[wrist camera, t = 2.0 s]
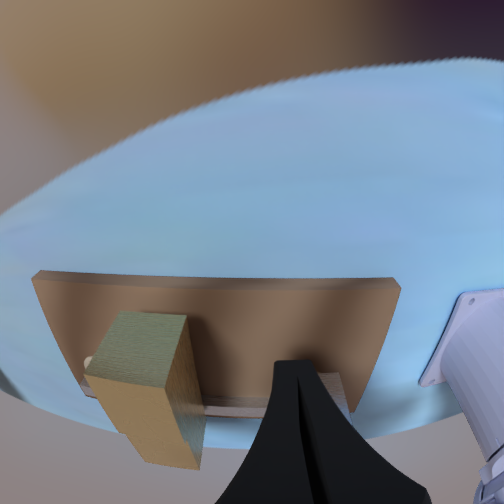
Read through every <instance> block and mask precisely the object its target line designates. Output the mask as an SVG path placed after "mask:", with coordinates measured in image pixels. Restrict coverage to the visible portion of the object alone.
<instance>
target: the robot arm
mask: <svg viewBox="0 0 504 504" xmlns="http://www.w3.org/2000/svg"><path fill="white" fill-rule="evenodd" d="M443 382H448V384H449V386H450V388H451V389H452V391H453V393H454V395H455V397H456V399H457V401H458V403H459V405H460V407H461V408H462V410H463V412H464V414H465V416H466V418H467V421H468V423H469V425H470V427H471V429H472V431H473V433H474V435H475V437H476V440H477V442H478V444H479V446H480V449H481V451H482V453H483V456H484V458H485V460H486V462H488V463H487V464H486V465H485V466H484V467H483V468H482V469H480V470H479V473H480V476H481V479H482V480H481V481H480V483H479V485H478V487H477V490H476V493H475V497H474V502H473V504H504V288H501V289H492V290H482V291H472V292H465V293H463V294H461V295H460V297H459V298H458V301H457V303H456V306H455V308H454V311H453V313H452V316H451V318H450V320H449V323H448V325H447V327H446V330H445V332H444V334H443V336H442V338H441V341H440V343H439V345H438V347H437V349H436V351H435V353H434V355H433V357H432V359H431V361H430V363H429V365H428V367H427V368H426V370H425V372H424V374H423V376H422V378H421V379H420V381H419V384H420V386H421V387H427V386H431V385H435V384H439V383H443ZM215 504H432V502H431V499H430V496H429V494H428V492H427V490H426V488H425V487H423V486H421V485H420V484H418V483H416V482H415V481H413V480H412V479H410V478H409V477H407V476H406V475H404V474H403V473H401V472H400V471H399V470H397V469H396V468H395V467H393V466H392V465H391V464H390V463H389V462H387V461H386V460H385V459H384V458H383V457H382V456H381V455H379V454H378V453H377V452H376V451H375V450H374V449H373V448H372V447H371V446H370V445H369V444H368V443H367V442H366V441H365V440H364V439H363V438H362V436H361V435H360V434H359V433H358V432H357V431H356V430H355V428H354V427H353V426H352V425H351V424H350V422H349V421H348V420H347V418H346V417H345V416H344V414H343V413H342V412H341V410H340V409H339V407H338V406H337V405H336V403H335V402H334V400H333V398H332V397H331V395H330V394H329V392H328V391H327V389H326V387H325V386H324V384H323V382H322V380H321V379H320V377H319V375H318V373H317V371H316V369H315V367H314V365H313V363H312V361H311V360H310V359H307V360H277V361H275V362H274V368H273V380H272V390H271V394H270V398H269V402H268V405H267V409H266V412H265V414H264V417H263V420H262V423H261V425H260V428H259V430H258V433H257V435H256V437H255V439H254V442H253V444H252V446H251V448H250V450H249V452H248V454H247V456H246V458H245V459H244V461H243V463H242V465H241V467H240V468H239V470H238V471H237V473H236V475H235V476H234V478H233V479H232V481H231V482H230V484H229V485H228V487H227V488H226V490H225V491H224V493H223V494H222V495H221V496H220V498H219V499H218V500H217V502H216V503H215Z"/></svg>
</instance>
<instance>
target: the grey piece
mask: <svg viewBox="0 0 504 504" xmlns="http://www.w3.org/2000/svg"><path fill="white" fill-rule="evenodd" d="M318 375H319V377H320V379H321V380H322V382H323V384H324V386H325V387H326V389H327V391H328V392H329V394H330V395H331V397H332V398H333V400H334V402H335V403H336V405H337V406H338V407H339V409H340V410H341V412H342V413H343V414H344V416H345V417H346V418H347V420H348V421H349V422H350V424H351V425H352V421H351V417H350V413H349V409H348V405H347V401H346V397H345V394H344V390H343V386H342V382H341V379H340V375H339V372H336V373H322V374H318ZM80 386H81V388H82V390H83V391H84V393H85V394H86V395H90V396H94V397H96V396H95V394H94V393H93V391H92V389H91V387H90V385H89V384H88V382H87V380H86V378H85V377H84V378H83V380H82V382H81V384H80ZM201 398H202V402H203V407H204V412H205V415H220V416H246V417H264V414H265V412H266V409H267V405H268V402H269V398H270V397H229V396H210V395H201ZM352 426H353V425H352Z"/></svg>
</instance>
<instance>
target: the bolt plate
mask: <svg viewBox="0 0 504 504" xmlns="http://www.w3.org/2000/svg"><path fill="white" fill-rule="evenodd" d="M31 280H32V283H33V286H34V289H35V292H36V294H37V297H38V300H39V302H40V305H41V307H42V310H43V312H44V315H45V317H46V320H47V322H48V324H49V327H50V329H51V331H52V333H53V335H54V338H55V340H56V342H57V344H58V346H59V348H60V350H61V352H62V354H63V356H64V358H65V360H66V362H67V364H68V366H69V368H70V369H71V371H72V373H73V375H74V377H75V378H76V380H77V382H78V384H79V385H80V384H81V382H82V380H83V378H84V377H85V376H84V375H83V374H84V372H85V370H86V368H87V366H88V364H89V363H90V361H91V359H92V357H93V356H94V354H95V352H96V350H97V349H98V347H99V345H100V343H101V342H102V340H103V338H104V337H105V335H106V333H107V332H108V330H109V328H110V327H111V325H112V323H113V322H114V320H115V318H116V317H117V315H118V313H119V312H120V311H131V312H144V313H157V314H173V315H187V321H188V327H189V333H190V339H191V345H192V351H193V357H194V362H195V368H196V373H197V378H198V383H199V388H200V393H201V395H210V396H229V397H270V394H271V390H272V380H273V368H274V362H275V361H277V360H307V359H310V360H311V361H312V363H313V365H314V367H315V369H316V371H317V373H318V374H322V373H336V372H339V375H340V379H341V382H342V386H343V390H344V394H345V397H346V401H347V405H348V409H349V413H352V412H354V411H355V409H356V407H357V405H358V403H359V401H360V399H361V397H362V394H363V392H364V390H365V388H366V385H367V383H368V381H369V378H370V376H371V374H372V371H373V369H374V366H375V364H376V361H377V359H378V356H379V354H380V351H381V349H382V346H383V343H384V340H385V338H386V335H387V332H388V329H389V326H390V323H391V320H392V317H393V314H394V311H395V308H396V305H397V301H398V298H399V295H400V291H401V287H400V286H399V284H398V283H397V282H396V280H395V279H394V278H325V279H276V278H205V277H168V276H140V275H116V274H95V273H76V272H59V271H44V270H40V271H39V272H38V273H37V274H36V275H35V276H34V277H32V278H31ZM80 387H81V386H80ZM81 389H82V388H81ZM83 392H84V391H83ZM84 394H85V393H84ZM85 395H86V394H85ZM86 396H88V397H91V398H95V399H97V398H96V397H94V396H90V395H86ZM205 416H209V417H226V418H263V417H246V416H220V415H205Z"/></svg>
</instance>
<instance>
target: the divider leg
mask: <svg viewBox="0 0 504 504" xmlns="http://www.w3.org/2000/svg"><path fill="white" fill-rule="evenodd" d="M83 375H84V376H85V378H86V380H87V382H88V384H89V385H90V387H91V389H92V391H93V393H94V394H95V396H96V398H97V399H98V401H99V403H100V404H101V406H102V408H103V409H104V411H105V412H106V414H107V415H108V417H109V419H110V420H111V422H112V423H113V425H114V426H115V428H116V429H117V430H118V432H119V433H122V434H126V436H127V437H128V439H129V440H130V442H131V443H132V444H133V446H134V447H135V449H136V450H137V451H138V453H139V454H140V455H141V457H142V458H143V459H144V461H145V462H148V463H153V464H159V465H164V466H170V467H177V468H184V469H193V470H200V463H201V456H202V448H203V441H204V433H205V426H206V416H205V412H204V407H203V402H202V398H201V393H200V388H199V383H198V378H197V373H196V368H195V362H194V357H193V351H192V345H191V339H190V333H189V327H188V321H187V315H173V314H157V313H144V312H131V311H120V312H119V313H118V315H117V317H116V318H115V320H114V322H113V323H112V325H111V327H110V328H109V330H108V332H107V333H106V335H105V337H104V338H103V340H102V342H101V343H100V345H99V347H98V349H97V350H96V352H95V354H94V356H93V357H92V359H91V361H90V363H89V364H88V366H87V368H86V370H85V372H84V374H83Z"/></svg>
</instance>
